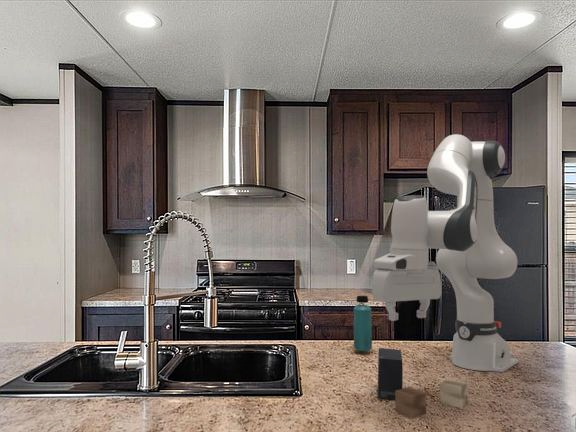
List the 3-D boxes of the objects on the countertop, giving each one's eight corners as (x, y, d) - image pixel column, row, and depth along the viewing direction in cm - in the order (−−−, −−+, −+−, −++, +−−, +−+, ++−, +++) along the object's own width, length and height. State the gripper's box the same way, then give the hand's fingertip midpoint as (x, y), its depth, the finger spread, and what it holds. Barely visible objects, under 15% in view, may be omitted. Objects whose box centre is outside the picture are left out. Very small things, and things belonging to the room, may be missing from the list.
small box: (403, 401, 116) (403, 359, 116) (377, 399, 117) (377, 357, 118) (401, 387, 126) (401, 348, 127) (377, 385, 128) (377, 347, 128)
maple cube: (447, 397, 118) (447, 378, 119) (467, 402, 115) (467, 382, 115) (440, 403, 115) (440, 383, 115) (460, 408, 111) (460, 387, 112)
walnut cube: (409, 407, 112) (409, 386, 112) (426, 414, 108) (426, 392, 108) (395, 411, 109) (395, 390, 109) (411, 419, 105) (411, 397, 105)
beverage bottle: (373, 355, 158) (373, 297, 159) (354, 355, 158) (354, 297, 159) (370, 350, 165) (370, 294, 165) (352, 350, 165) (352, 294, 165)
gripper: (428, 260, 119) (427, 314, 118) (368, 260, 108) (367, 319, 107) (448, 262, 113) (447, 318, 113) (387, 262, 103) (386, 324, 102)
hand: (407, 319), depth 110 cm, fingers open, 8 cm apart
